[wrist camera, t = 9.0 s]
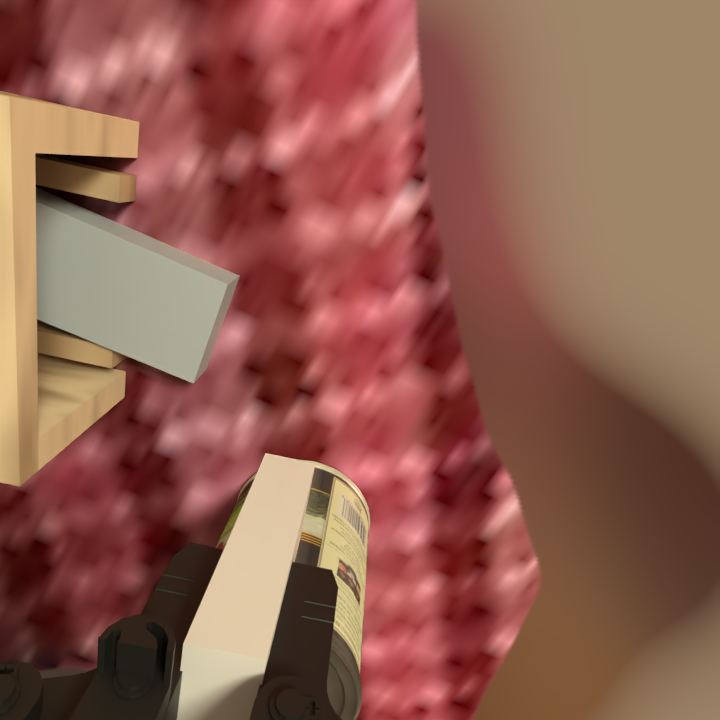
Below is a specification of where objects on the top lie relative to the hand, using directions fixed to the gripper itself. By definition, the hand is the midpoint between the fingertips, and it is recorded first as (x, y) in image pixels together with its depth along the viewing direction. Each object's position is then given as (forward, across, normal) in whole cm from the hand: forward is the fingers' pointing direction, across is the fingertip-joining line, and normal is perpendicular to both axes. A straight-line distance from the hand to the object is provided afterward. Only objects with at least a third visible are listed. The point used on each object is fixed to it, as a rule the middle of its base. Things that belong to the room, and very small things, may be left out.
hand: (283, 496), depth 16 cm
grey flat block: (+20, -14, 0) cm, 25 cm away
